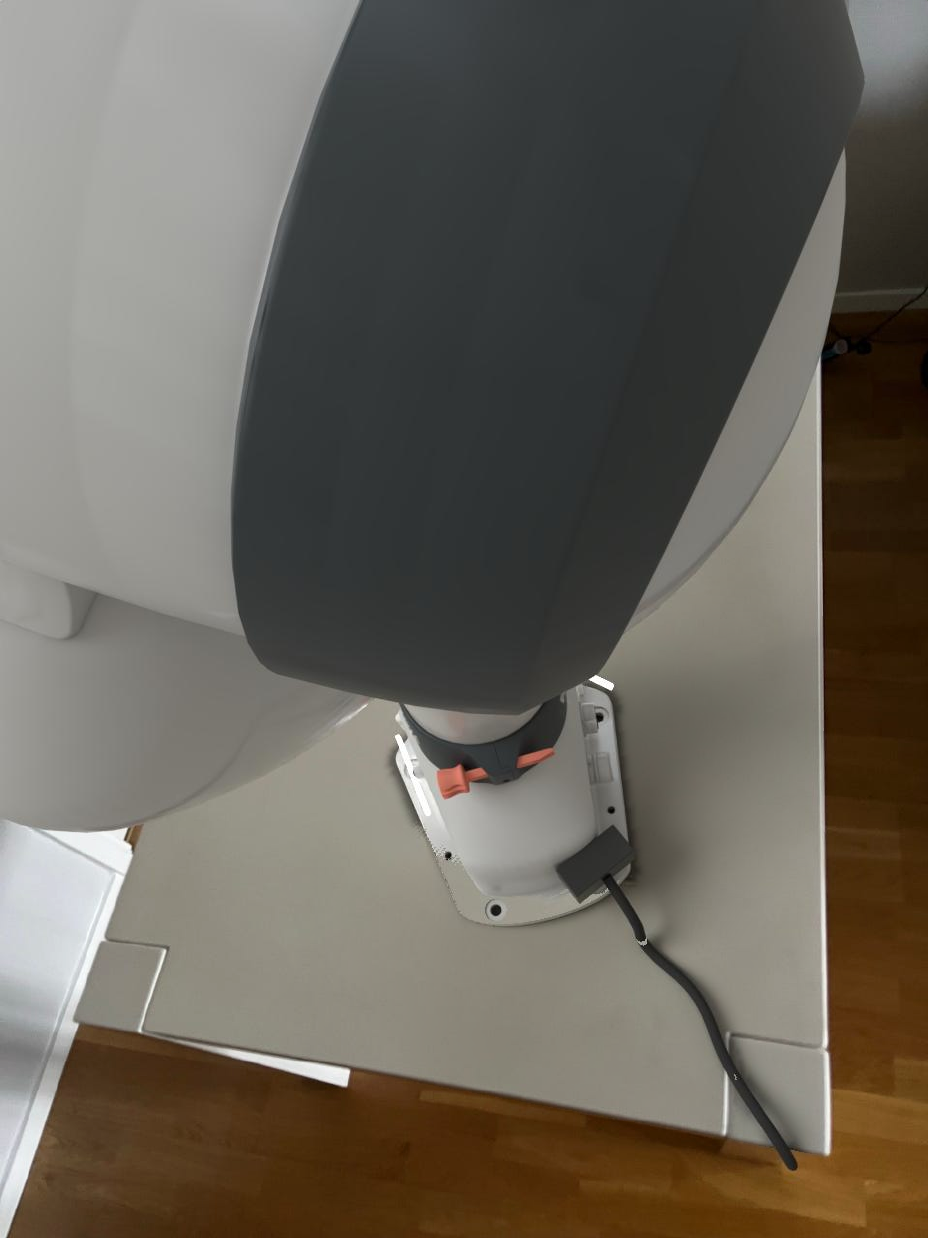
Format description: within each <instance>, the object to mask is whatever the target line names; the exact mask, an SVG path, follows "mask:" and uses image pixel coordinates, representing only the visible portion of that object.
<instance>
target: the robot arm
mask: <svg viewBox="0 0 928 1238" xmlns="http://www.w3.org/2000/svg"><path fill="white" fill-rule="evenodd" d="M849 12H850V0H0V819H3V820H6V821H9V822H11V823H15V824H18V825H20V826H25V827H29V828H33V829H38V830H43V831H50V832H52V831H53V832H67V833H82V834H83V833H84V834H90V833H101V832H112V831H113V832H114V831H118V830H124V829H129V828H132V827H137V826H140V825H145V824H150V823H153V822H156V821H159V820H162V819H164V818H167V817H170V816H173V815H175V814H178V813H182V812H184V811H187V810H190V809H192V808H195V807H198V806H201V805H204V804H205V803H209V802H210V801H212V800H214V799H217V798H219V797H221V796H224V795H226V794H228V793H231V792H234V791H235V790H237V789H239V788H242V787H243V786H246V785H248V784H251V783H252V782H255V781H257V780H259V779H261V778H263V777H264V776H267V775H269V774H270V773H272V772H274V771H276V770H278V769H280V768H281V767H283V766H285V765H287V764H289V763H290V762H292V761H294V760H295V759H297V758H298V757H300V756H301V755H303V754H304V753H306V752H307V751H309V750H311V749H312V748H314V747H315V746H317V745H318V744H319V743H321V742H322V741H324V740H326V739H327V738H329V737H330V736H332V735H333V734H335V733H336V732H337V731H338V730H340V729H341V728H342V727H343V726H344V725H346V724H347V723H348V722H349V721H350V720H352V719H353V718H354V717H355V716H356V715H358V714H359V713H360V712H361V711H362V710H364V709H365V708H366V707H367V706H368V705H369V704H371V703H372V702H373V701H374V700H375V699H377V700H383V701H388V702H392V703H398V705H399V709H398V712H397V714H396V715H395V716H394V717H395V721H396V723H397V724H399V726H400V727H401V728H402V729H403V730H404V732H405V733H406V737H407V738H406V740H405V741H404V742H403V739H402V737H401V736H400V734H397V735H395V739H396V741H397V744H398V746H399V748H398V750H397V751H396V755H395V763H396V766H397V768H398V771H399V773H400V776H401V779H402V780H403V783H404V785H405V788H406V791H407V793H408V795H409V798H410V799H411V802H412V804H413V805H414V809H415V811H416V813H417V816H418V818H419V821H420V823H421V825H422V827H423V830H424V833H425V835H426V834H427V835H426V838H427V839H428V838H429V840H428V842H429V841H431V844H433V845H432V847H431V849H432V848H433V849H434V847H436V848H435V849H434V851H433V849H432V851H433V853H434V852H436V850H438V849H439V850H438V852H437V853H436V856H437V855H439V853H441V852H442V853H441V855H440V856H443V855H444V854H443V853H445V856H444V857H445V858H446V859H448V860H449V859H450V858H452V857H455V855H457V856H456V857H455V858H454V859H453V860H452V862H454V860H457V859H456V858H460V859H459V860H458V861H461V862H462V864H461V865H463V866H464V868H465V870H466V871H467V873H468V875H469V876H470V877H471V879H472V880H473V881H474V883H475V885H476V886H477V888H478V889H479V890H480V891H481V892H482V893H484V894H485V895H489V896H492V897H495V896H496V897H502V898H504V897H510V898H512V897H515V896H520V897H528V898H531V897H534V896H533V895H535V896H538V895H541V897H540V898H539V899H538V900H542V899H546V898H549V897H552V896H555V895H558V896H556V897H554V898H552V899H550V900H549V901H547V902H546V903H549V902H552V903H553V901H555V902H557V901H556V900H559V899H561V898H562V897H565V896H567V895H566V894H568V893H571V894H572V896H573V897H574V898H575V899H576V901H577V902H578V903H579V904H581V903H582V902H583V901H584V900H585V899H587V898H588V897H589V896H590V895H592V894H595V895H596V894H600V893H602V894H603V892H604V893H605V890H606V889H607V888H608V890H609V891H607V892H606V893H605V894H603V895H602V896H600V897H599V898H597V899H595V900H593V901H591V902H590V903H587V904H585V905H583V906H581V907H579V908H576V909H573V910H571V911H568V912H565V913H562V914H559V915H555V916H552V917H548V918H544V919H540V920H535V921H529V922H523V923H513V924H496V923H488V924H487V925H486V926H491V927H520V926H521V927H522V926H528V925H533V924H538V923H543V922H547V921H551V920H555V919H558V918H561V917H564V916H569V915H571V914H574V913H576V912H579V911H581V910H583V909H586V908H588V907H590V906H592V905H594V904H596V903H598V902H600V901H601V900H603V899H604V898H605V897H607V896H609V895H610V894H611V896H612V897H613V899H614V900H615V902H616V903H617V906H618V907H619V908H620V910H621V911H622V913H623V915H624V916H625V918H626V919H627V921H628V922H629V924H630V926H631V928H632V929H633V930H632V931H633V933H634V937H635V940H636V939H637V940H638V941H640V942H642V941H645V939H646V937H647V935H646V931H645V927H644V924H643V922H642V920H641V919H640V917H639V914H638V913H637V911H636V910H635V908H634V907H633V906H632V904H631V902H630V901H629V899H628V897H627V896H626V895H625V893H624V891H623V890H622V889H621V887H620V885H621V884H622V883H623V882H624V881H625V880H626V878H627V877H628V876H629V874H630V873H631V869H632V863H633V861H635V860H636V852H635V848H634V847H633V846H632V845H631V843H630V842H629V833H628V825H627V815H626V808H625V799H624V792H623V791H624V790H623V784H622V774H621V765H620V757H619V748H618V740H617V732H616V722H615V714H614V705H613V703H612V701H611V697H610V696H609V695H608V694H607V693H605V692H604V691H602V690H600V689H597V688H594V687H592V686H587V685H583V684H584V683H585V682H587V681H592V682H594V683H595V684H597V685H600V686H602V687H604V688H606V689H608V690H610V691H612V690H613V688H614V683H612V682H610V681H608V680H606V679H604V678H601V677H599V676H597V675H599V673H600V672H601V671H602V669H603V668H604V666H605V665H606V664H607V662H608V660H609V659H610V657H611V656H612V654H613V652H614V650H615V649H616V647H617V646H618V644H619V642H620V641H621V639H622V637H623V636H624V635H625V634H627V633H628V632H630V631H631V630H632V629H633V628H634V627H636V626H637V625H638V624H640V623H641V622H642V621H643V620H645V619H646V618H648V617H649V616H651V615H652V614H653V613H655V612H656V611H657V610H658V609H659V608H661V606H663V605H664V604H665V603H666V602H667V601H668V600H669V599H670V598H671V597H672V596H673V595H674V594H675V593H677V591H678V590H679V589H680V588H682V586H683V585H685V584H686V583H687V582H688V581H689V580H690V579H691V578H692V577H693V576H694V575H695V574H696V573H697V572H698V571H699V570H700V569H701V568H702V567H703V565H705V563H706V562H707V561H708V559H709V558H710V557H711V556H712V555H713V554H714V552H715V551H716V550H717V549H718V548H719V547H720V545H721V544H722V543H723V542H724V541H725V539H726V538H727V537H728V536H729V534H730V533H731V532H732V531H733V529H734V528H735V527H736V526H737V525H738V523H739V522H740V521H741V519H742V518H743V516H744V515H745V514H746V512H747V511H748V509H749V507H750V506H751V504H752V502H753V500H754V499H755V497H756V496H757V494H758V493H759V491H760V490H761V488H762V486H763V485H764V483H765V481H766V480H767V478H768V476H769V475H770V474H771V472H772V469H773V468H774V466H775V465H776V464H777V461H778V460H779V458H780V456H781V454H782V452H783V450H784V448H785V446H786V444H787V443H788V440H789V438H790V436H791V435H792V432H793V429H794V427H795V425H796V423H797V420H798V418H799V416H800V413H801V411H802V408H803V405H804V403H805V400H806V397H807V394H808V392H809V388H810V387H811V383H812V381H813V378H814V375H815V373H816V370H817V367H818V364H819V362H820V358H821V356H822V352H823V349H824V346H825V341H826V337H827V334H828V328H829V325H830V318H831V314H832V310H833V305H834V301H835V296H836V291H837V286H838V281H839V276H840V267H841V257H842V247H843V246H842V245H843V235H844V225H845V215H846V203H847V193H846V191H847V187H846V186H847V185H846V184H847V183H846V182H847V181H846V180H847V179H846V178H847V177H846V176H847V175H846V173H847V160H846V148H845V147H846V144H847V141H848V139H849V137H850V133H851V130H852V128H853V125H854V122H855V119H856V116H857V114H858V110H859V108H860V104H861V100H862V97H863V93H864V89H865V83H866V82H865V73H864V68H863V65H862V61H861V57H860V54H859V48H858V45H857V41H856V38H855V35H854V29H853V27H852V26H853V25H852V23H851V20H850V15H849ZM598 716H600V717H602V718H603V719H602V721H600V722H599V720H598V719H597V717H598ZM610 810H613V811H614V812H612V813H610V812H609V811H610ZM425 829H426V830H425ZM425 831H426V832H425ZM431 844H430V845H431ZM442 845H443V846H442ZM440 847H441V848H440ZM443 848H446V849H445V850H444V849H443ZM442 850H444V851H442ZM445 851H449V852H445ZM449 855H451V856H450V858H448V856H449ZM436 856H435V859H436V860H437V858H436ZM440 856H439V857H440ZM443 859H444V858H443ZM441 861H442V860H441ZM458 861H457V863H459V862H458ZM438 865H439V864H438ZM455 865H456V864H455ZM461 865H460V866H461ZM439 867H440V865H439ZM463 870H464V869H463ZM441 874H443V872H442V871H441ZM443 877H444V876H443ZM444 879H445V877H444ZM617 880H618V881H619V880H620V881H619V882H618V881H617ZM617 882H618V883H617ZM446 885H447V886H448V884H447V883H446ZM566 889H568V890H569V891H567V890H566ZM564 890H566V891H567V892H565V893H563V894H560V892H561V893H562V891H563V892H564ZM449 892H450V893H451V891H450V890H449ZM554 894H555V895H554ZM559 894H560V895H559ZM551 895H552V896H551ZM564 895H565V896H564ZM568 895H569V894H568ZM530 896H531V897H530ZM548 896H549V897H548ZM561 896H562V897H561ZM451 897H452V899H453V900H454V898H453V896H452V895H451ZM544 897H545V898H544ZM560 897H561V898H560ZM516 898H517V897H516ZM541 898H542V899H541ZM538 900H537V901H538ZM546 900H547V899H546ZM559 901H560V900H559ZM546 903H545V904H546ZM549 904H550V903H549ZM546 905H547V904H546ZM455 906H456V908H457V910H458V911H459V909H458V907H457V905H456V904H455ZM558 906H560V905H558ZM495 907H500V908H501V909H500V910H501V911H500V913H499V914H498V915H494V914H493V909H494V908H495ZM556 907H557V906H556ZM506 911H507V908H506V905H505V903H504V902H503V901H502V900H500V899H492V900H490V901H489V902H488V903H487V904H486V907H485V914H486V916H487V918H488V919H489V920H490V919H491V921H494V922H497V921H500V920H502V919H503V918H504V917H505V915H506ZM459 913H460V915H461V914H462V913H461V912H459ZM492 917H493V918H492ZM467 920H468V921H471V919H470V918H469V919H467ZM477 922H479V921H477V920H475V921H474V922H473V923H477ZM479 924H480V925H485V923H484V922H482V921H481V923H479ZM492 924H495V926H493V925H492ZM502 925H503V926H502ZM637 940H636V941H637ZM637 944H638V945H639V948H640V949H641V950H642V951H643V952H644V953H645V954H646V955H647V957H648V958H649V959H650V960H651V961H652V962H653V963H655V964H656V965H657V966H658V967H659V968H660V969H661V970H662V971H664V972H665V973H666V974H667V975H669V976H670V977H671V978H672V979H673V980H674V981H675V982H676V983H677V984H678V985H680V987H681V988H682V989H683V990H684V991H685V992H686V993H687V994H688V996H689V997H690V998H691V1000H692V1002H693V1003H694V1004H695V1006H696V1008H697V1010H698V1012H699V1014H700V1015H701V1018H702V1020H703V1022H704V1024H705V1027H706V1030H707V1033H708V1035H709V1038H710V1041H711V1043H712V1046H713V1048H714V1050H715V1053H716V1055H717V1057H718V1060H719V1062H720V1064H721V1066H722V1067H723V1070H724V1071H725V1073H726V1075H727V1077H728V1078H729V1080H730V1081H731V1083H732V1085H733V1087H734V1088H735V1090H736V1091H737V1093H738V1095H739V1096H740V1097H741V1099H742V1101H743V1103H744V1104H745V1105H746V1107H747V1108H748V1111H750V1113H751V1114H752V1116H753V1117H754V1119H755V1120H756V1122H757V1123H758V1124H759V1126H760V1127H761V1129H762V1130H763V1132H764V1133H765V1135H766V1136H767V1138H768V1139H769V1141H770V1142H771V1144H772V1146H773V1147H774V1148H775V1147H776V1148H775V1150H776V1152H777V1153H778V1155H779V1157H780V1158H781V1161H783V1164H784V1165H785V1167H786V1168H787V1170H790V1171H791V1172H795V1171H797V1170H798V1168H799V1165H798V1161H797V1159H796V1157H795V1156H794V1154H793V1152H792V1151H791V1148H790V1147H789V1145H788V1144H787V1142H786V1141H785V1139H784V1138H783V1136H782V1135H781V1133H780V1132H779V1130H778V1128H777V1127H776V1126H775V1125H774V1123H773V1121H772V1120H771V1119H770V1117H769V1115H768V1114H767V1112H766V1111H765V1110H764V1109H763V1107H762V1105H761V1104H760V1103H759V1101H758V1100H757V1098H756V1097H755V1095H754V1094H753V1093H752V1091H751V1089H750V1088H749V1086H748V1085H747V1083H746V1081H745V1080H744V1078H743V1077H742V1075H741V1073H740V1071H739V1069H738V1068H737V1066H736V1065H735V1063H734V1061H733V1058H732V1057H731V1055H730V1052H729V1051H728V1049H727V1046H726V1044H725V1042H724V1041H725V1040H724V1039H723V1036H722V1034H721V1031H720V1028H719V1026H718V1023H717V1021H716V1018H715V1016H714V1013H713V1011H712V1009H711V1007H710V1006H709V1005H710V1004H708V1002H707V1000H706V998H705V997H704V996H703V994H702V992H701V991H700V990H699V988H698V987H697V986H696V984H694V982H693V981H692V980H691V979H690V978H689V977H688V976H687V975H686V974H685V973H684V972H683V971H682V970H681V969H680V968H679V967H677V966H676V965H674V963H673V962H671V961H670V960H668V959H667V957H665V956H664V955H663V954H662V953H661V952H659V951H658V949H657V948H655V946H654V945H653V944H652V942H650V940H649V939H648V938H647V944H646V945H644V946H643V945H640V944H639V943H638V942H637ZM734 1074H735V1075H736V1077H737V1078H736V1079H737V1080H735V1076H734Z"/></svg>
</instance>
